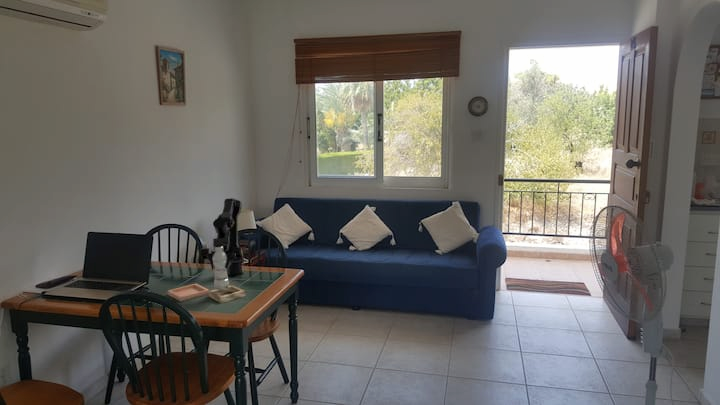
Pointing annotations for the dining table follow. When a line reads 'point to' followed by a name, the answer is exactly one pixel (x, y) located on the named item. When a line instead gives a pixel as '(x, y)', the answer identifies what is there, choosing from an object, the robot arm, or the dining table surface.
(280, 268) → the dining table surface
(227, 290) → the collar
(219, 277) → the plastic bottle
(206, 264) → the dining table surface
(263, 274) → the dining table surface
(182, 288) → the tray
